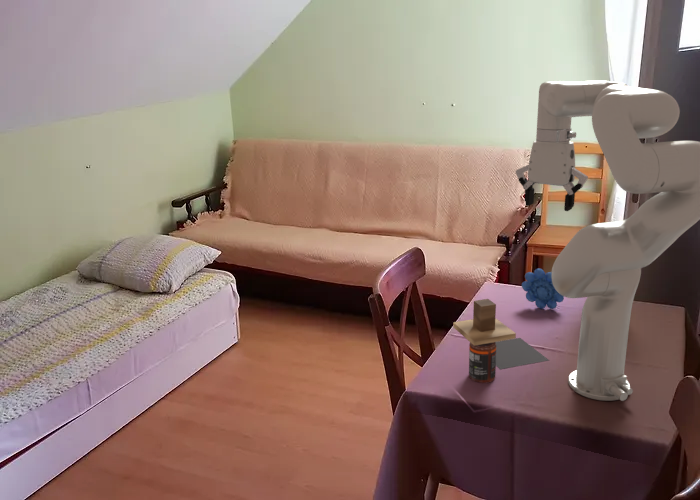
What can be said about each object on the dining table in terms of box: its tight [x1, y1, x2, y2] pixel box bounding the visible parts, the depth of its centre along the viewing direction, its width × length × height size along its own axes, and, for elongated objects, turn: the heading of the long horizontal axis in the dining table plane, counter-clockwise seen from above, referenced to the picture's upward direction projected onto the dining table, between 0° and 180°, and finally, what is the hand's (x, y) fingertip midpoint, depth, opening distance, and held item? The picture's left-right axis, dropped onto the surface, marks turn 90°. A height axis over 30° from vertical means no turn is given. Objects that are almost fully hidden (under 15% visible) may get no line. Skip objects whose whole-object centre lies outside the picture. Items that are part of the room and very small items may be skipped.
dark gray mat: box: [495, 337, 550, 370], centre depth 154 cm, size 13×13×1 cm
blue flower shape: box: [521, 267, 565, 310], centre depth 177 cm, size 12×7×12 cm, turn 70°
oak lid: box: [452, 298, 517, 346], centre depth 139 cm, size 10×10×7 cm
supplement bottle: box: [468, 342, 497, 384], centre depth 142 cm, size 6×6×11 cm
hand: (548, 207), depth 152 cm, fingers open, 9 cm apart
